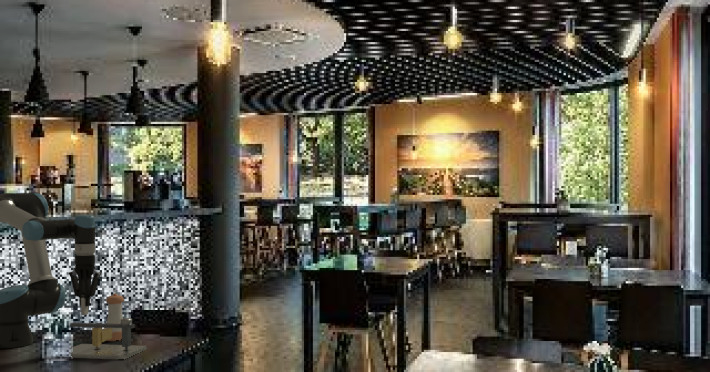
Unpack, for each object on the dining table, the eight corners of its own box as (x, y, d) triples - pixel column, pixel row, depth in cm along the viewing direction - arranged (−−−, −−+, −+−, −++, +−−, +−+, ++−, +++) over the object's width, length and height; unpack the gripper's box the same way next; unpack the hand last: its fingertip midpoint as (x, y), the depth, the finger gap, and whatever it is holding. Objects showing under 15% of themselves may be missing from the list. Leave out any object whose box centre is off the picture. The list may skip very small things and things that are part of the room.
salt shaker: (120, 336, 286) (120, 291, 287) (127, 339, 281) (126, 293, 281) (103, 339, 282) (103, 293, 282) (109, 342, 276) (109, 295, 276)
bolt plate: (56, 357, 251) (56, 352, 251) (81, 347, 266) (81, 343, 266) (124, 359, 245) (124, 355, 245) (146, 349, 261) (146, 345, 261)
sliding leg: (91, 348, 255) (91, 328, 256) (105, 343, 264) (105, 323, 265) (98, 348, 255) (98, 328, 255) (112, 343, 264) (111, 323, 264)
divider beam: (68, 348, 256) (68, 318, 257) (74, 345, 260) (74, 316, 261) (131, 350, 251) (130, 320, 252) (136, 348, 255) (136, 318, 255)
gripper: (64, 254, 262) (63, 315, 262) (94, 255, 259) (94, 316, 259) (75, 253, 269) (75, 312, 269) (105, 253, 267) (105, 313, 267)
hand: (84, 314), depth 264 cm, fingers closed
